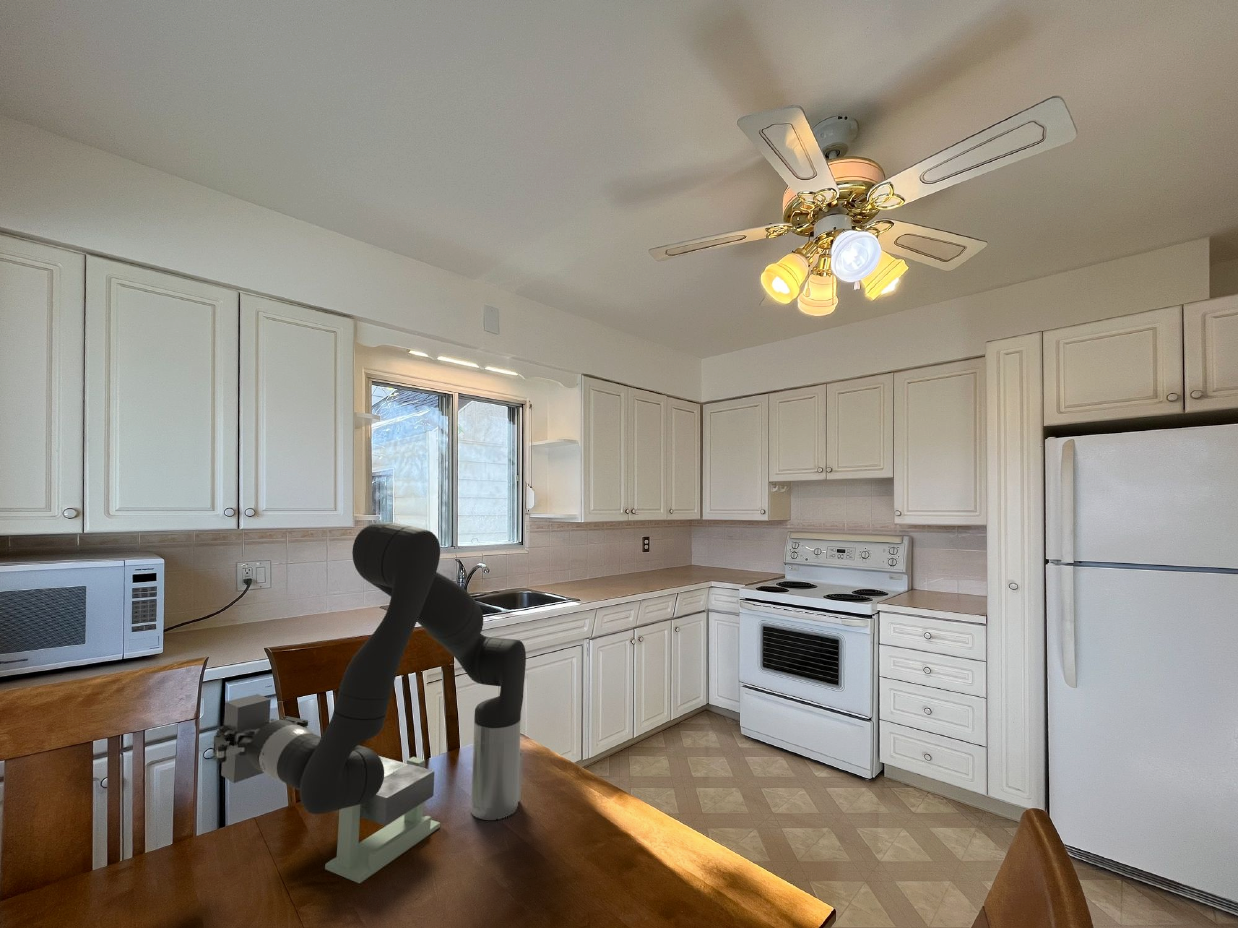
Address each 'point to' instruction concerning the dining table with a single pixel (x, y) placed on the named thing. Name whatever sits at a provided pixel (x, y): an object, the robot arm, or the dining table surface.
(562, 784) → the dining table surface
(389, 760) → the trapdoor
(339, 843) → the frame
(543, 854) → the dining table surface
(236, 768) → the basalt block
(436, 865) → the dining table surface
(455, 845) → the dining table surface
